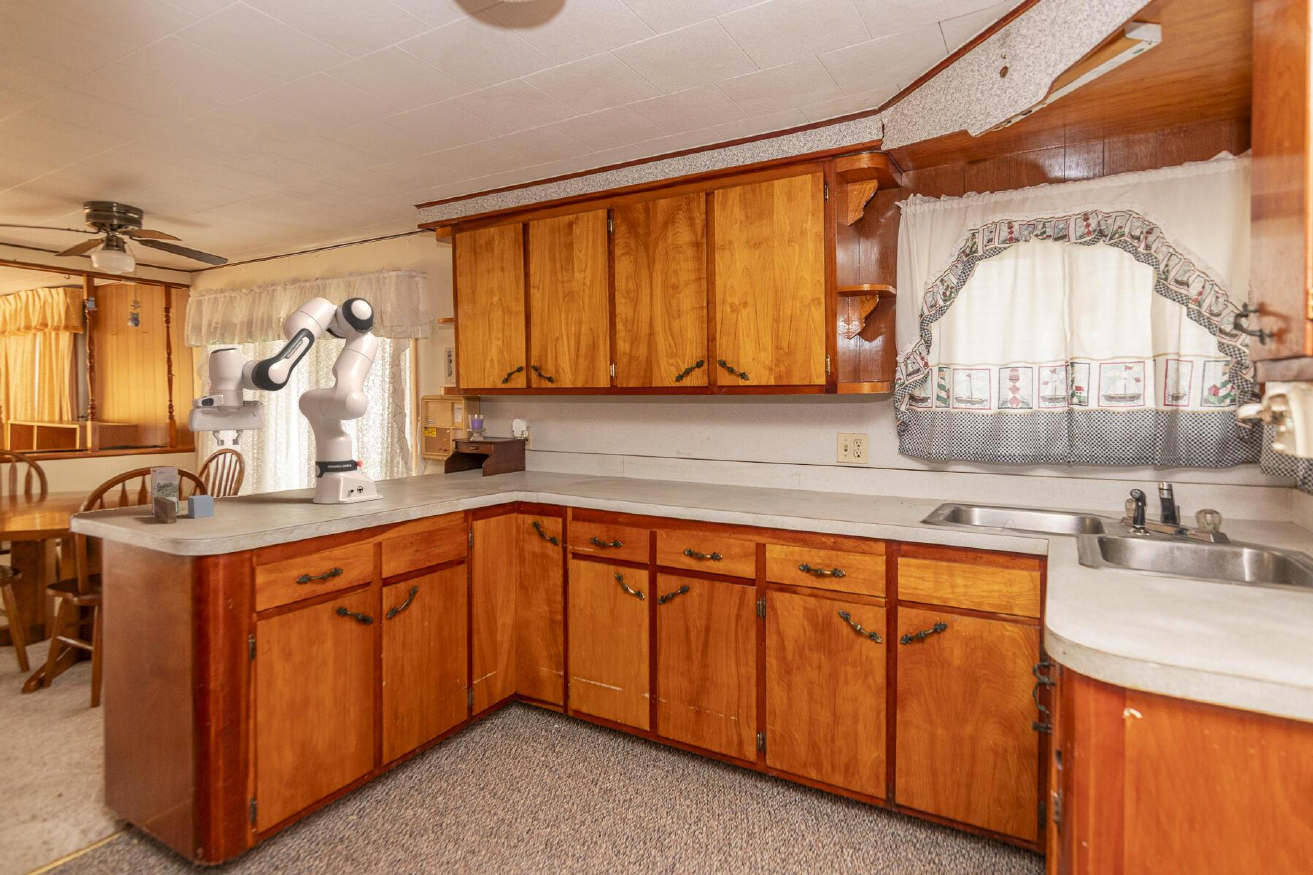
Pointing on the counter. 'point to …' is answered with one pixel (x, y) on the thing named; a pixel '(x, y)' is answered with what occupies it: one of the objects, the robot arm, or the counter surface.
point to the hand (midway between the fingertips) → (228, 445)
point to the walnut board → (165, 509)
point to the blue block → (200, 506)
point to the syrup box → (165, 484)
